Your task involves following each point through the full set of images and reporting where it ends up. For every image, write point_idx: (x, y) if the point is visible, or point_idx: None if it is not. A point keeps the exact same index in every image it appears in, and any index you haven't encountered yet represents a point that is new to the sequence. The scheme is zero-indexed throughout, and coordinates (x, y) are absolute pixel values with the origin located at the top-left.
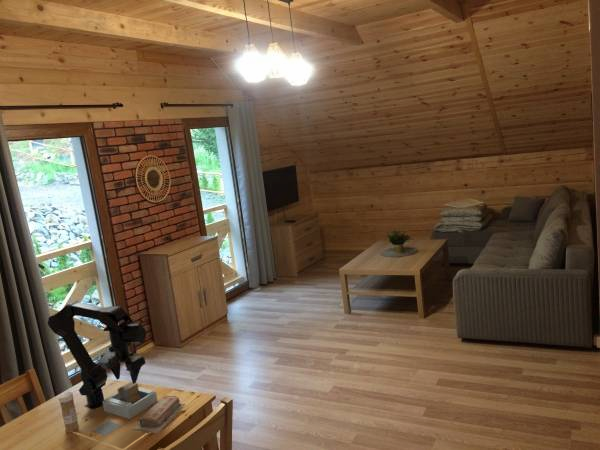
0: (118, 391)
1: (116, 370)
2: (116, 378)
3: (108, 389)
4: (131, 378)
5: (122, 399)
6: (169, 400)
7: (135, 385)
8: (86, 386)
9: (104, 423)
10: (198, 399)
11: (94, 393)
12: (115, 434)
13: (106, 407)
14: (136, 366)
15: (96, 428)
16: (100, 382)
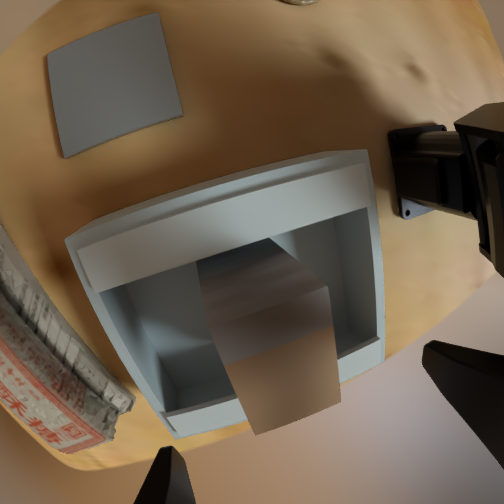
0: (305, 280)
1: (490, 404)
2: (437, 345)
3: (468, 265)
4: (157, 501)
5: (246, 266)
6: (39, 427)
7: (248, 417)
8: None
9: (173, 84)
10: (85, 463)
11: (460, 155)
12: (27, 108)
13: (315, 156)
14: None
15: (161, 35)
16: (502, 211)
